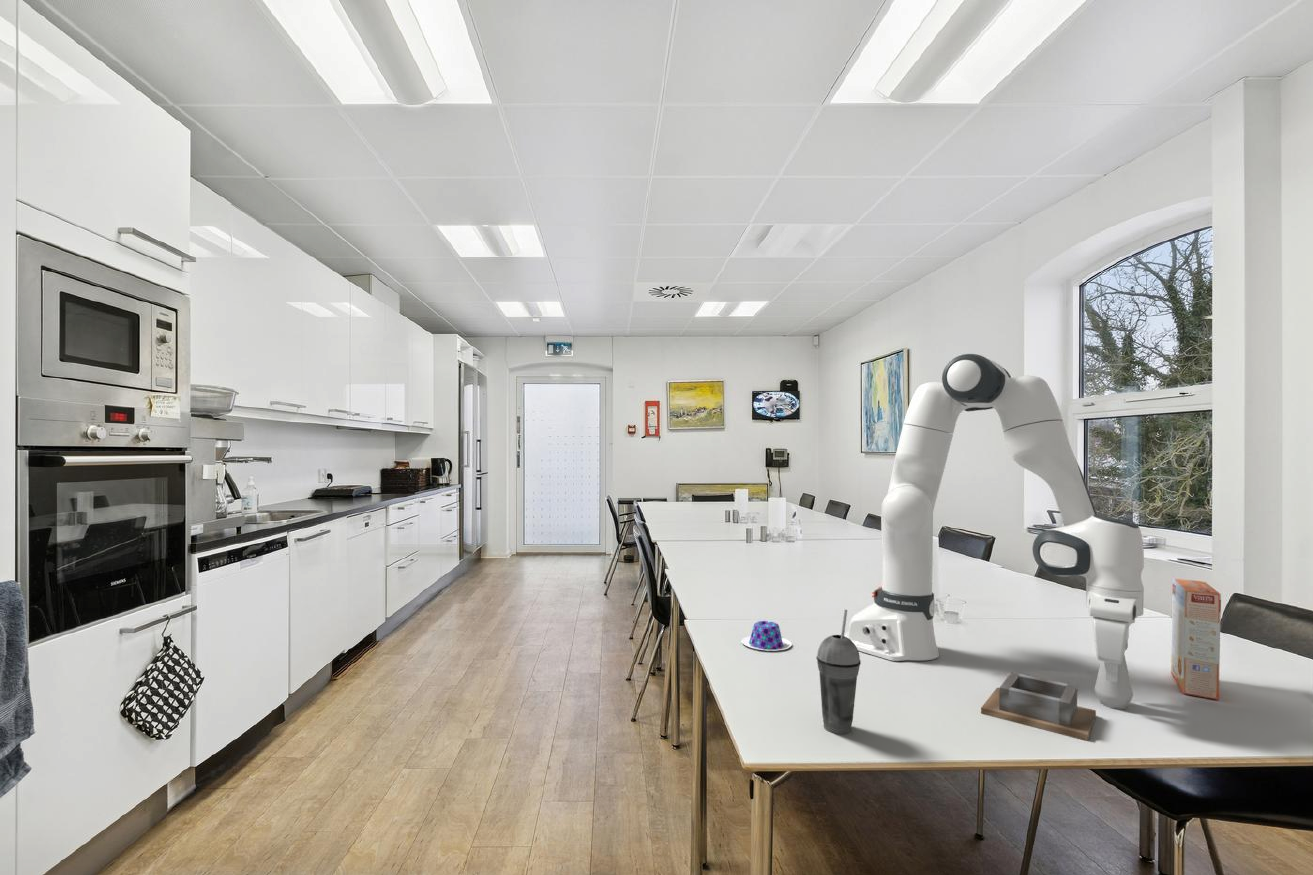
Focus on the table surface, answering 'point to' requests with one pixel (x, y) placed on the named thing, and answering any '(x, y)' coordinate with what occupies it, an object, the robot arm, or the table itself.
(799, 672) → the table surface
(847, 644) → the beverage cup
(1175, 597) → the cracker box
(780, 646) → the pudding
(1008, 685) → the socket block
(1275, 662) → the table surface
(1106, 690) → the salt shaker
